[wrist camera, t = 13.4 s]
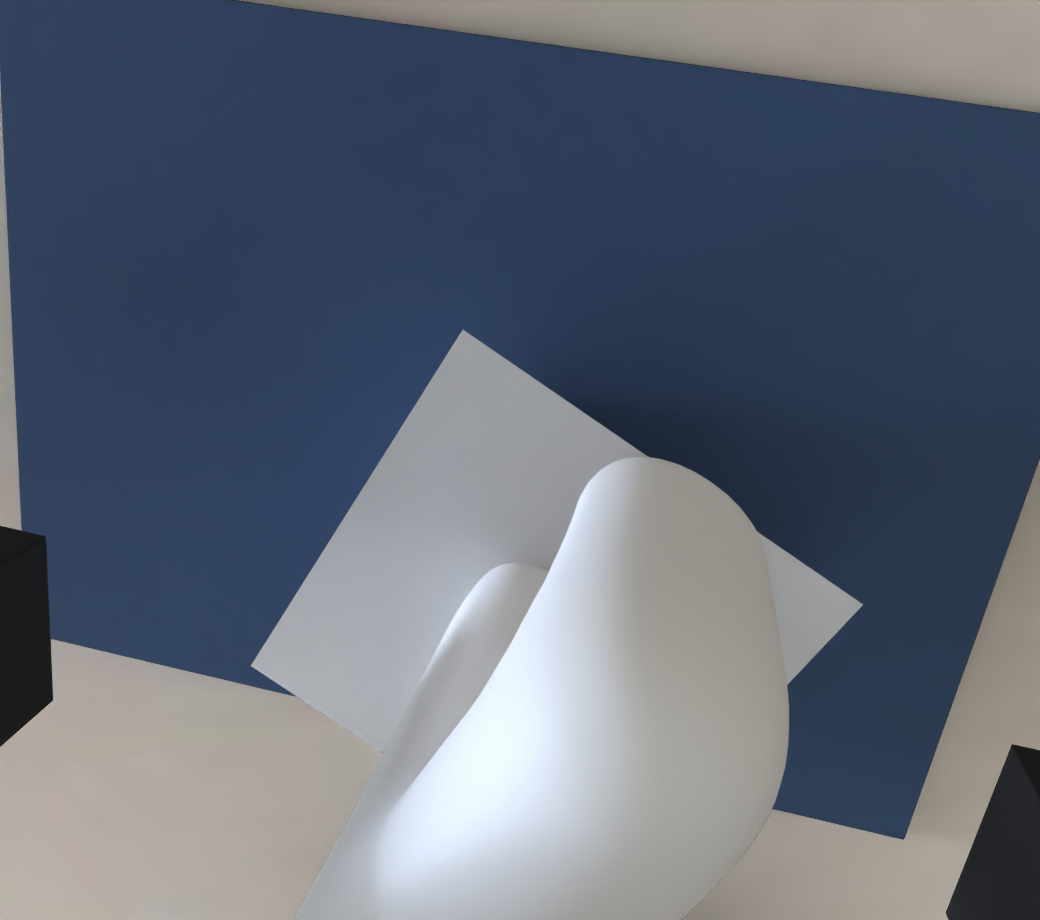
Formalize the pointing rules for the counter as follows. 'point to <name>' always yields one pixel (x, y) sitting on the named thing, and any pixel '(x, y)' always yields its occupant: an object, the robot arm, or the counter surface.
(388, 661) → the figurine
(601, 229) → the felt mat
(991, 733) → the counter surface
